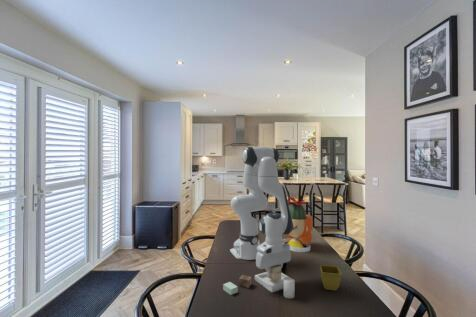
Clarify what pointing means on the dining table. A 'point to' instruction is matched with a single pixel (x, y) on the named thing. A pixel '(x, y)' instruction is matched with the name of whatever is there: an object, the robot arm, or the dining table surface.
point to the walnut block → (245, 281)
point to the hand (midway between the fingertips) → (274, 273)
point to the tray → (270, 282)
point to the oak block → (275, 272)
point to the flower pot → (330, 277)
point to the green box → (230, 288)
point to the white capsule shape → (289, 288)
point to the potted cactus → (299, 227)
